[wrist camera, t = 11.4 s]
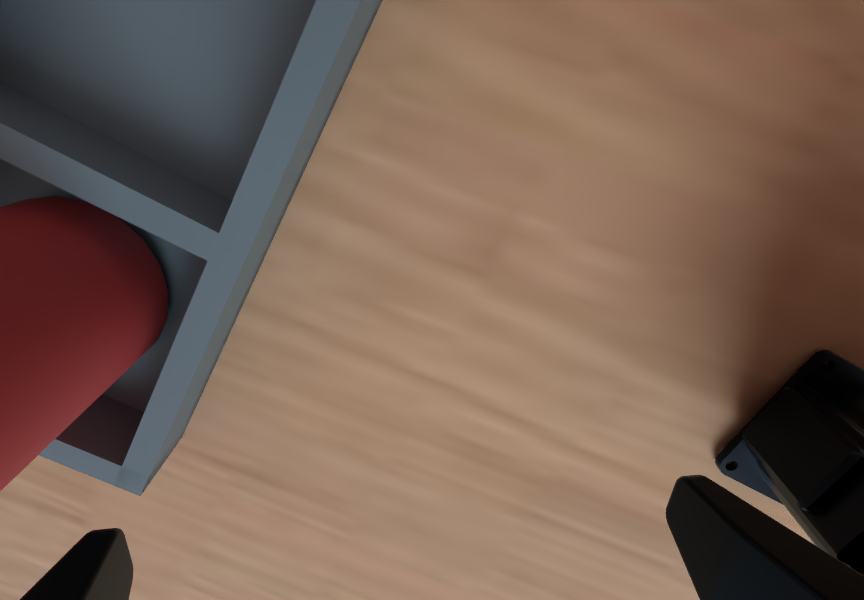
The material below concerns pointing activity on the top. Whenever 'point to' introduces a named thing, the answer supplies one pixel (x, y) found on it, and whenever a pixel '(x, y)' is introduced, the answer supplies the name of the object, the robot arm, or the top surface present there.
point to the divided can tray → (170, 168)
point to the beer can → (67, 317)
